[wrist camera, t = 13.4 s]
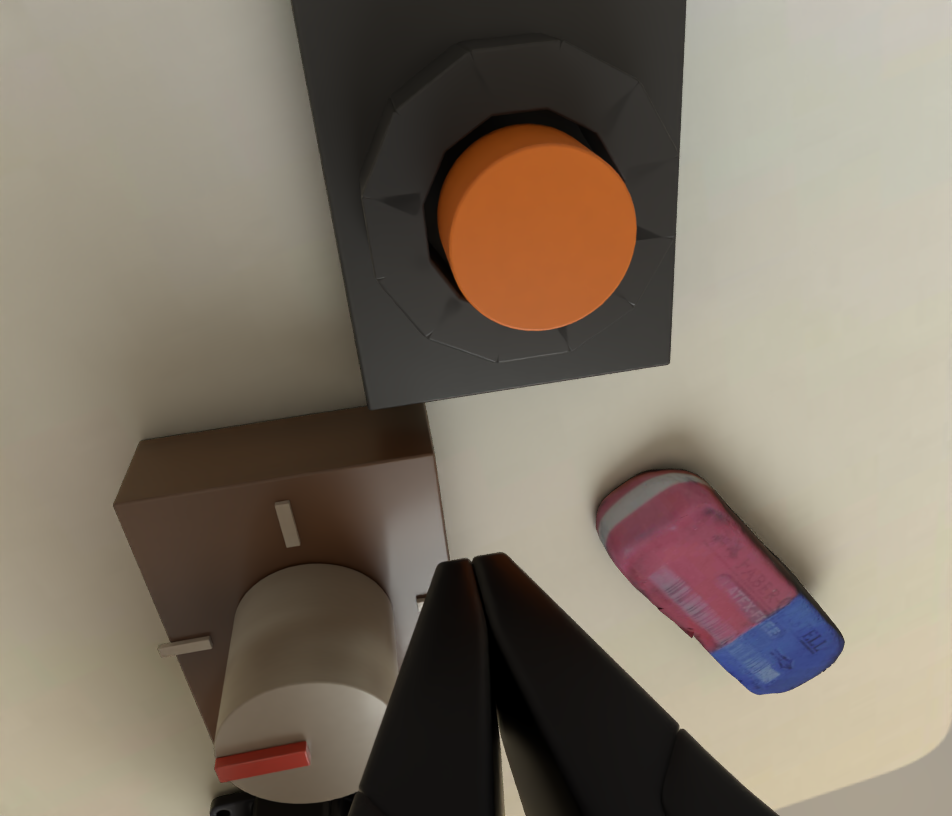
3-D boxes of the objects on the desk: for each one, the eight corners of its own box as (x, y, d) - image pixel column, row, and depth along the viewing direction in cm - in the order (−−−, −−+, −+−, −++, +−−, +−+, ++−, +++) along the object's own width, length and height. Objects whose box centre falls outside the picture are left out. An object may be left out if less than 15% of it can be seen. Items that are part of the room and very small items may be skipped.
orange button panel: (642, 331, 22) (698, 398, 19) (365, 373, 21) (370, 451, 18) (652, -79, 17) (732, -91, 13) (288, -42, 16) (274, -44, 13)
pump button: (605, 282, 17) (636, 318, 15) (446, 305, 17) (458, 344, 15) (605, 112, 15) (639, 131, 13) (426, 134, 15) (438, 156, 13)
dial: (380, 550, 21) (388, 676, 17) (403, 661, 23) (416, 794, 19) (215, 578, 20) (187, 715, 17) (255, 689, 22) (239, 831, 19)
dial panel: (467, 638, 27) (481, 712, 24) (221, 683, 26) (207, 765, 24) (434, 394, 22) (447, 454, 19) (128, 441, 21) (97, 511, 18)
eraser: (574, 517, 25) (587, 552, 24) (674, 441, 24) (695, 472, 23) (744, 675, 30) (765, 712, 28) (833, 617, 29) (859, 653, 28)
